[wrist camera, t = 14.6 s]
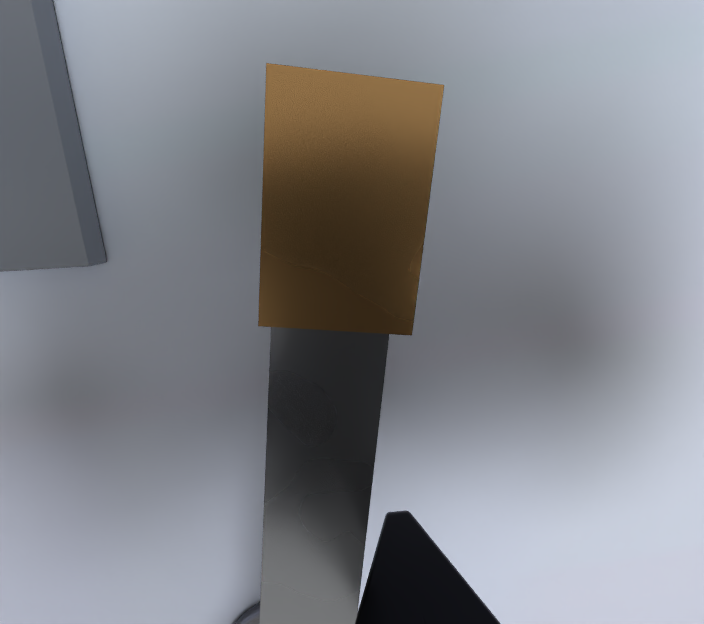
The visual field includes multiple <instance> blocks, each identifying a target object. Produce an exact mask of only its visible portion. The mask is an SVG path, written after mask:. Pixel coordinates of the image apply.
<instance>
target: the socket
mask: <svg viewBox="0 0 704 624" xmlns="http://www.w3.org/2000/svg"><path fill="white" fill-rule="evenodd" d="M104 262H107V261H106V256H105V251H104V247H103V242H102V237H101V232H100V227H99V222H98V218H97V213H96V208H95V203H94V198H93V194H92V189H91V184H90V179H89V174H88V169H87V165H86V160H85V155H84V150H83V145H82V140H81V136H80V131H79V126H78V121H77V116H76V112H75V107H74V102H73V97H72V92H71V87H70V83H69V78H68V73H67V68H66V63H65V59H64V54H63V49H62V44H61V39H60V34H59V30H58V25H57V20H56V15H55V10H54V6H53V1H52V0H0V272H1V271H17V270H34V269H51V268H67V267H84V266H92V265H96V264H100V263H104Z"/></svg>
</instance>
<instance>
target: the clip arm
mask: <svg viewBox="0 0 704 624" xmlns="http://www.w3.org/2000/svg"><path fill="white" fill-rule="evenodd" d="M443 90H444V85H440V84H432V83H423V82H415V81H407V80H399V79H391V78H383V77H375V76H367V75H358V74H350V73H342V72H334V71H326V70H318V69H310V68H302V67H293V66H285V65H277V64H269V63H266V94H265V127H264V159H263V191H262V224H261V256H260V289H259V321H258V326H265V327H271V342H270V367H269V393H268V419H267V444H266V470H265V496H264V521H263V547H262V573H261V598H260V624H355V621H356V618H357V611H358V603H359V594H360V585H361V576H362V568H363V559H364V550H365V541H366V533H367V524H368V515H369V506H370V497H371V489H372V480H373V471H374V462H375V454H376V445H377V436H378V427H379V419H380V410H381V401H382V392H383V384H384V375H385V366H386V357H387V349H388V340H389V334H397V335H412V331H413V323H414V315H415V307H416V300H417V292H418V284H419V276H420V268H421V261H422V253H423V245H424V237H425V230H426V222H427V214H428V206H429V199H430V191H431V183H432V175H433V167H434V160H435V152H436V144H437V136H438V129H439V121H440V113H441V105H442V98H443Z"/></svg>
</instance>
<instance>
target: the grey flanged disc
mask: <svg viewBox="0 0 704 624" xmlns="http://www.w3.org/2000/svg"><path fill="white" fill-rule="evenodd" d="M357 614H358V613H357ZM235 624H260V603H258V604H257V605H255V606H253V607H252V608H250V609H249V610H248V611H246V612H245V613H244V614H243V615H242V616H241V617H240V618H239V619H238V620H237V621H236V623H235Z"/></svg>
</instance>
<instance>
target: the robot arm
mask: <svg viewBox="0 0 704 624" xmlns="http://www.w3.org/2000/svg"><path fill="white" fill-rule="evenodd" d="M355 624H500V622H499V621H498V620H497V619H496V618H495V616H494V615H493V614H492V613H491V611H490V610H489V609H488V608H487V606H486V605H485V604H484V603H483V602H482V600H481V599H480V598H479V597H478V595H477V594H476V593H475V592H474V590H473V589H472V588H471V587H470V586H469V584H468V583H467V582H466V581H465V579H464V578H463V577H462V576H461V574H460V573H459V572H458V571H457V570H456V568H455V567H454V566H453V565H452V563H451V562H450V561H449V560H448V558H447V557H446V556H445V555H444V554H443V552H442V551H441V550H440V549H439V547H438V546H437V545H436V544H435V543H434V541H433V540H432V539H431V538H430V536H429V535H428V534H427V533H426V531H425V530H424V529H423V528H422V527H421V525H420V524H419V523H418V522H417V520H416V519H415V518H414V517H413V515H412V514H411V513H410V512H408V511H396V512H388V513H387V514H386V516H385V519H384V523H383V527H382V530H381V534H380V537H379V541H378V544H377V548H376V551H375V555H374V558H373V562H372V565H371V569H370V572H369V576H368V579H367V583H366V586H365V590H364V593H363V597H362V600H361V604H360V607H359V611H358V614H357V618H356V621H355Z"/></svg>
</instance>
